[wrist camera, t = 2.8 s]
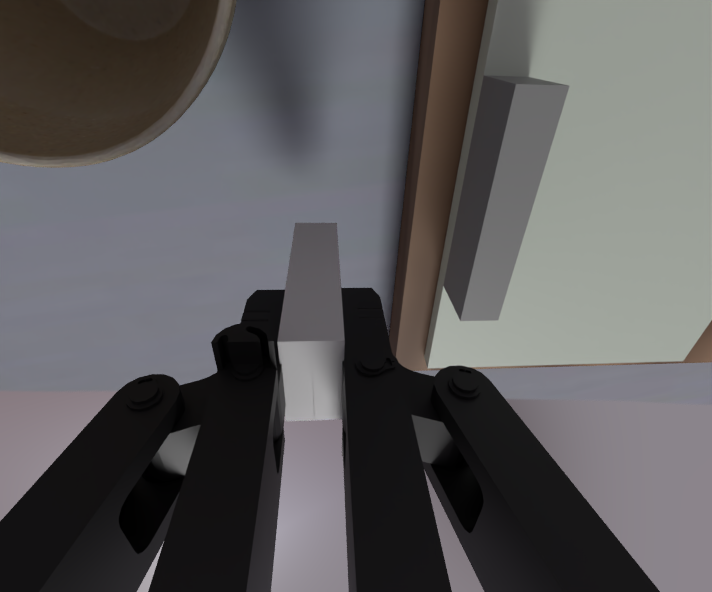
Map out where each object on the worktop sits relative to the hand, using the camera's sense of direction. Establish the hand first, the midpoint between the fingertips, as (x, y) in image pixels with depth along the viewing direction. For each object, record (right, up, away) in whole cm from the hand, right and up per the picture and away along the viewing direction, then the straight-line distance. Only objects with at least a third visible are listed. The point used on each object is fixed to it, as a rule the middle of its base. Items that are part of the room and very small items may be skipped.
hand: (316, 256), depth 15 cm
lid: (+12, +3, +1) cm, 13 cm away
